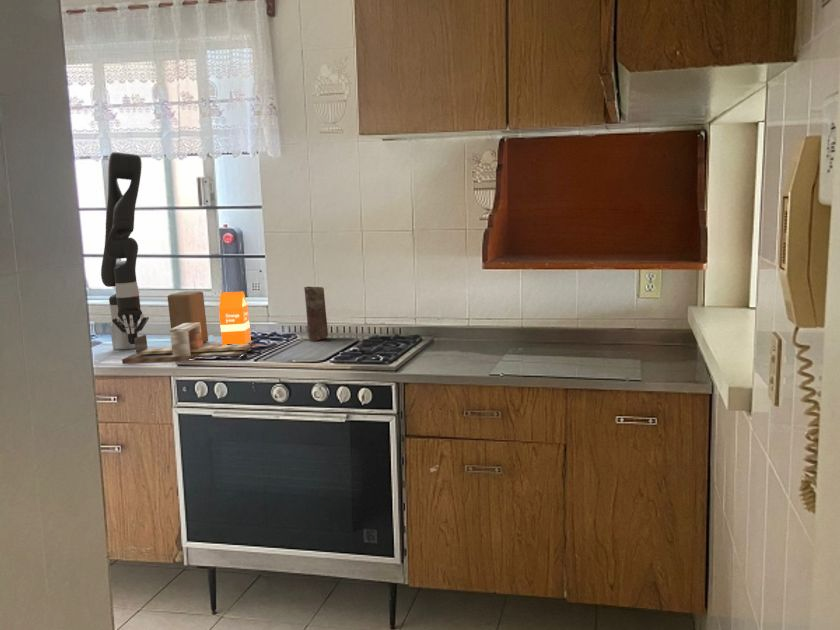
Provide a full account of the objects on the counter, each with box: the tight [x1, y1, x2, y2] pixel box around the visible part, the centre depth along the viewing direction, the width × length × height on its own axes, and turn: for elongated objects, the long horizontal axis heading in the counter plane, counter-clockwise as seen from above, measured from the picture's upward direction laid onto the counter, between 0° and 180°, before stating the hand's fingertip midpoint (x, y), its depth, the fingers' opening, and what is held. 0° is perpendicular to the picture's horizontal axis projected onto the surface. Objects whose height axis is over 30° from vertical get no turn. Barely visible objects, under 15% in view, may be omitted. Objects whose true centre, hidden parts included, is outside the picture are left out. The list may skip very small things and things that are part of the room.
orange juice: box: [218, 291, 252, 345], centre depth 295 cm, size 8×9×20 cm
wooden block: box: [167, 290, 209, 344], centre depth 303 cm, size 10×10×20 cm
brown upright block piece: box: [303, 286, 329, 342], centre depth 296 cm, size 8×7×20 cm
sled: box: [134, 332, 251, 355], centre depth 280 cm, size 39×7×6 cm, turn 85°
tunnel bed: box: [121, 322, 253, 365], centre depth 280 cm, size 42×14×11 cm, turn 85°
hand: (133, 343), depth 281 cm, fingers closed
